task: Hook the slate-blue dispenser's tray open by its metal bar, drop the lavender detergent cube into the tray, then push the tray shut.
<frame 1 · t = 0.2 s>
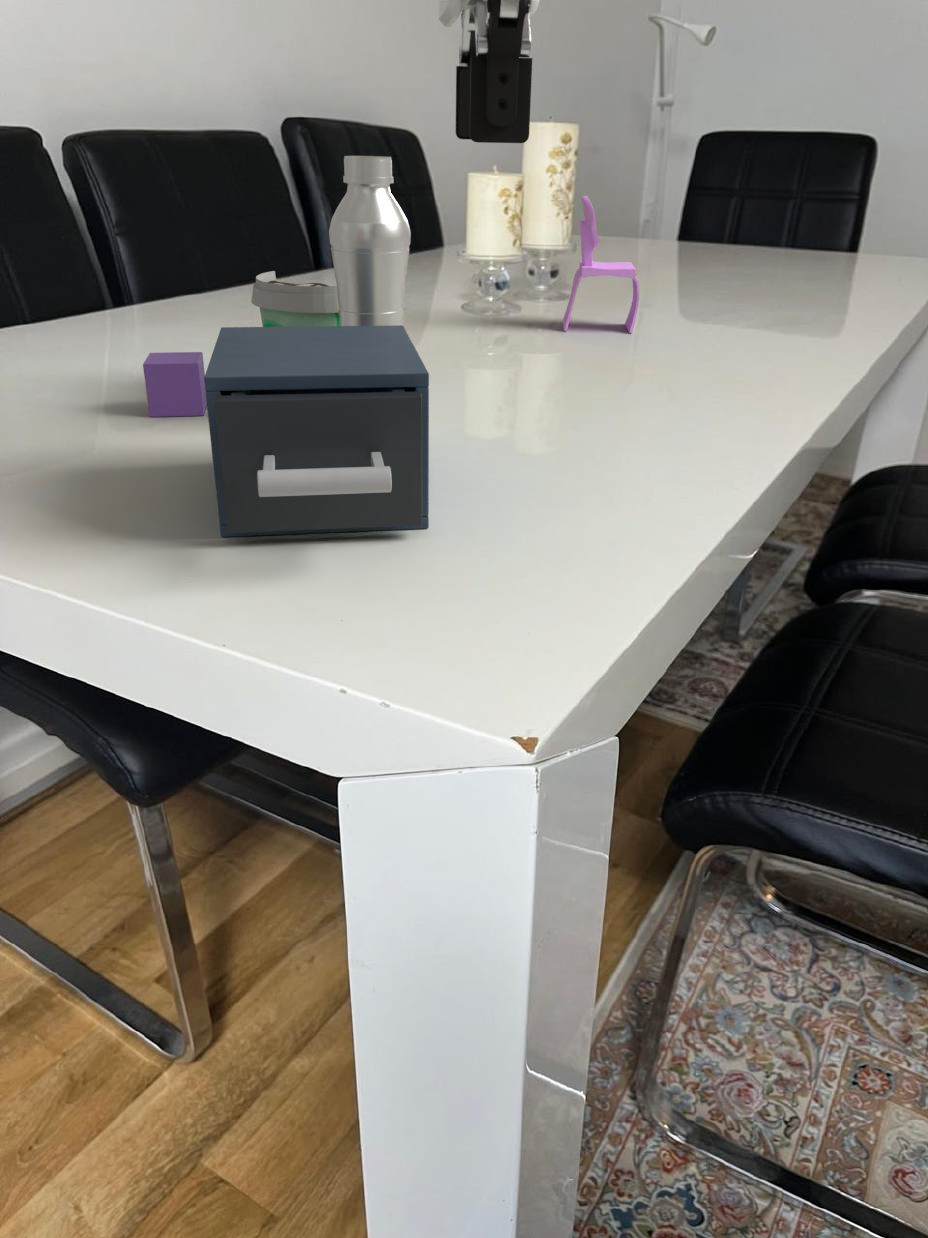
hand: (489, 140, 57), 22 cm above the table, tool pointing down, fingers open, 9 cm apart
toy chair: (598, 329, 120), on the table
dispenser: (323, 492, 65), on the table
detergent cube: (179, 409, 83), on the table
silver tall bottle: (373, 420, 81), on the table
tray: (321, 443, 59), point 5 cm above the table, slide at 0.5 cm
food container: (302, 397, 88), on the table
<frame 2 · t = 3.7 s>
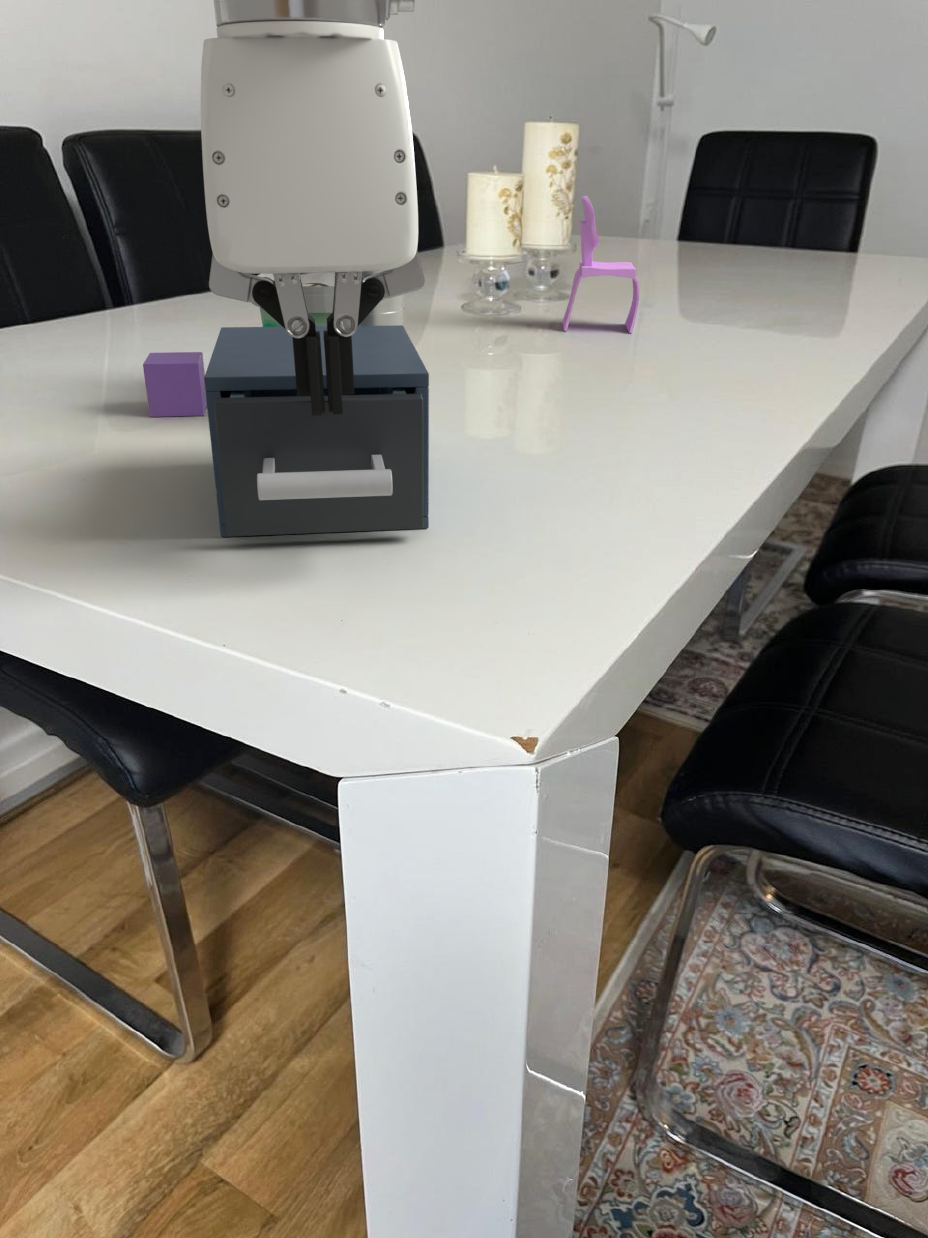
hand: (327, 407, 52), 9 cm above the table, tool pointing down, fingers closed
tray: (321, 445, 58), point 5 cm above the table, slide at 1.0 cm, touching gripper
everything else where it was.
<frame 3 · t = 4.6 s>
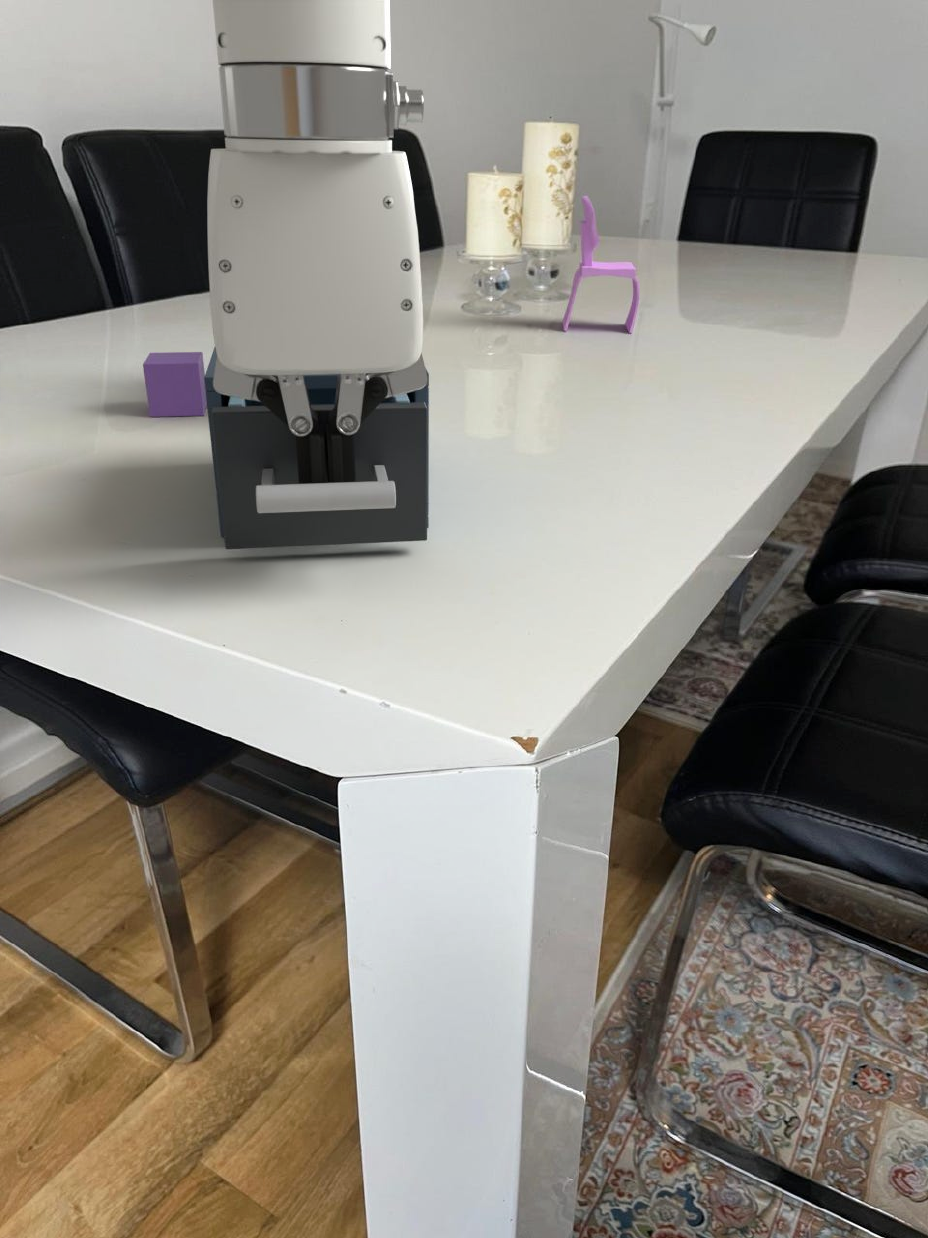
hand: (328, 500, 52), 4 cm above the table, tool pointing down, fingers closed
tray: (322, 455, 57), point 5 cm above the table, slide at 2.9 cm, touching gripper
everything else where it was.
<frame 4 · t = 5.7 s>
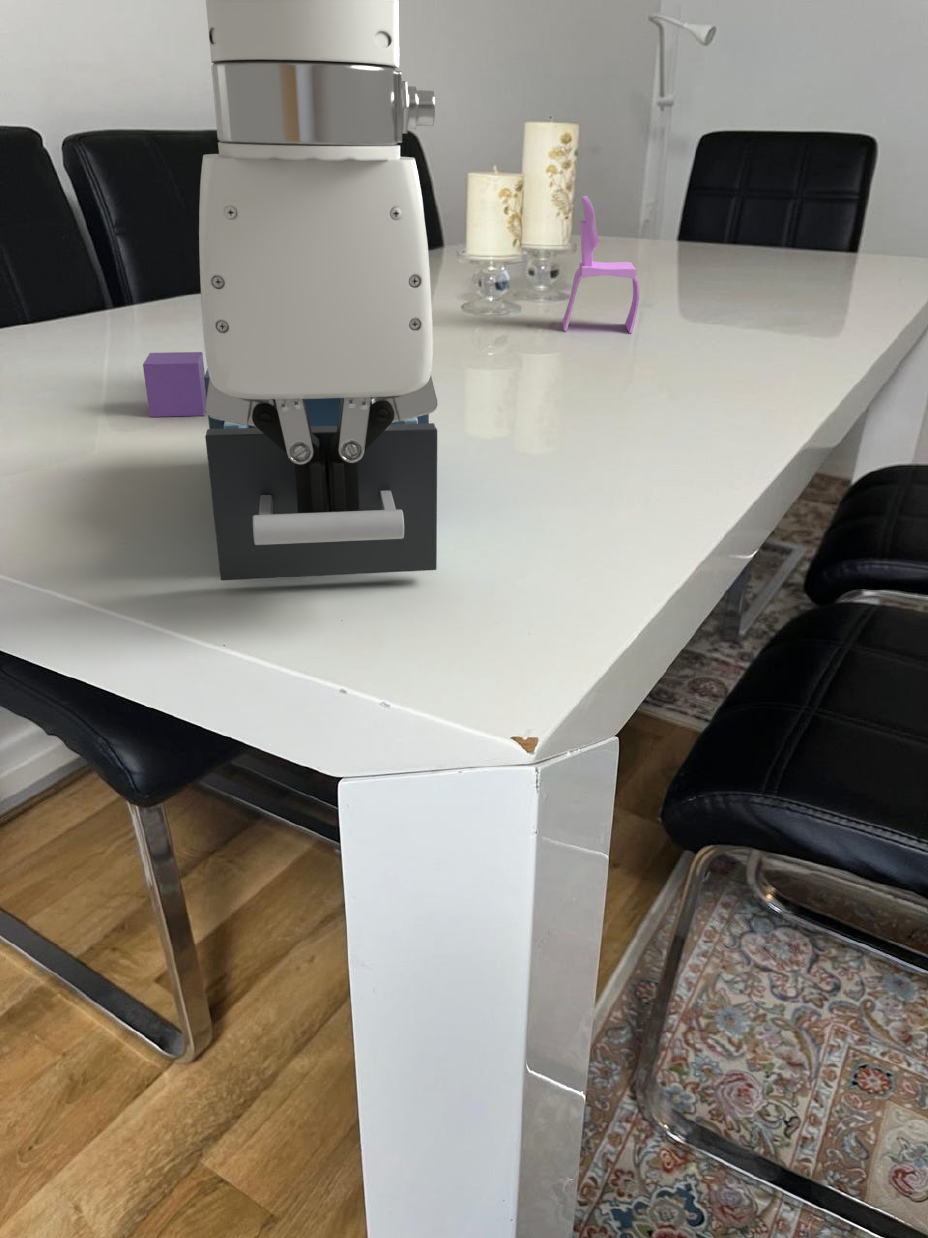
hand: (329, 531, 48), 4 cm above the table, tool pointing down, fingers closed
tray: (324, 478, 53), point 5 cm above the table, slide at 7.0 cm, touching gripper
everything else where it was.
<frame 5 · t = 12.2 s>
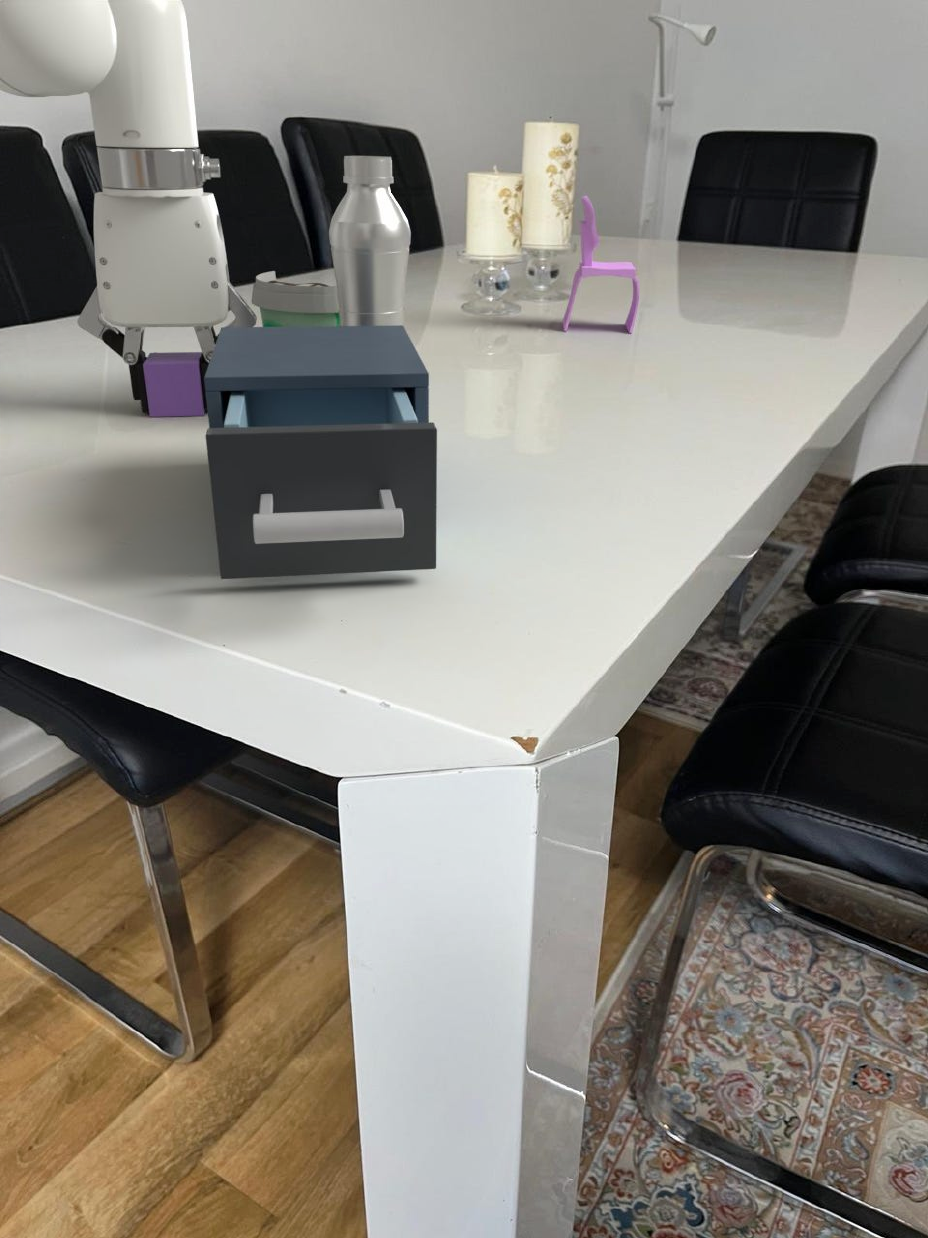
hand: (179, 405, 83), 0 cm above the table, tool pointing down, fingers closed on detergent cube, 4 cm apart
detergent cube: (179, 409, 83), on the table, touching gripper
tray: (324, 477, 53), point 5 cm above the table, slide at 6.9 cm
everything else where it was.
when the fingers open (9 cm above the table, at t = 18.4 s): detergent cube drops 7 cm, resting on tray.
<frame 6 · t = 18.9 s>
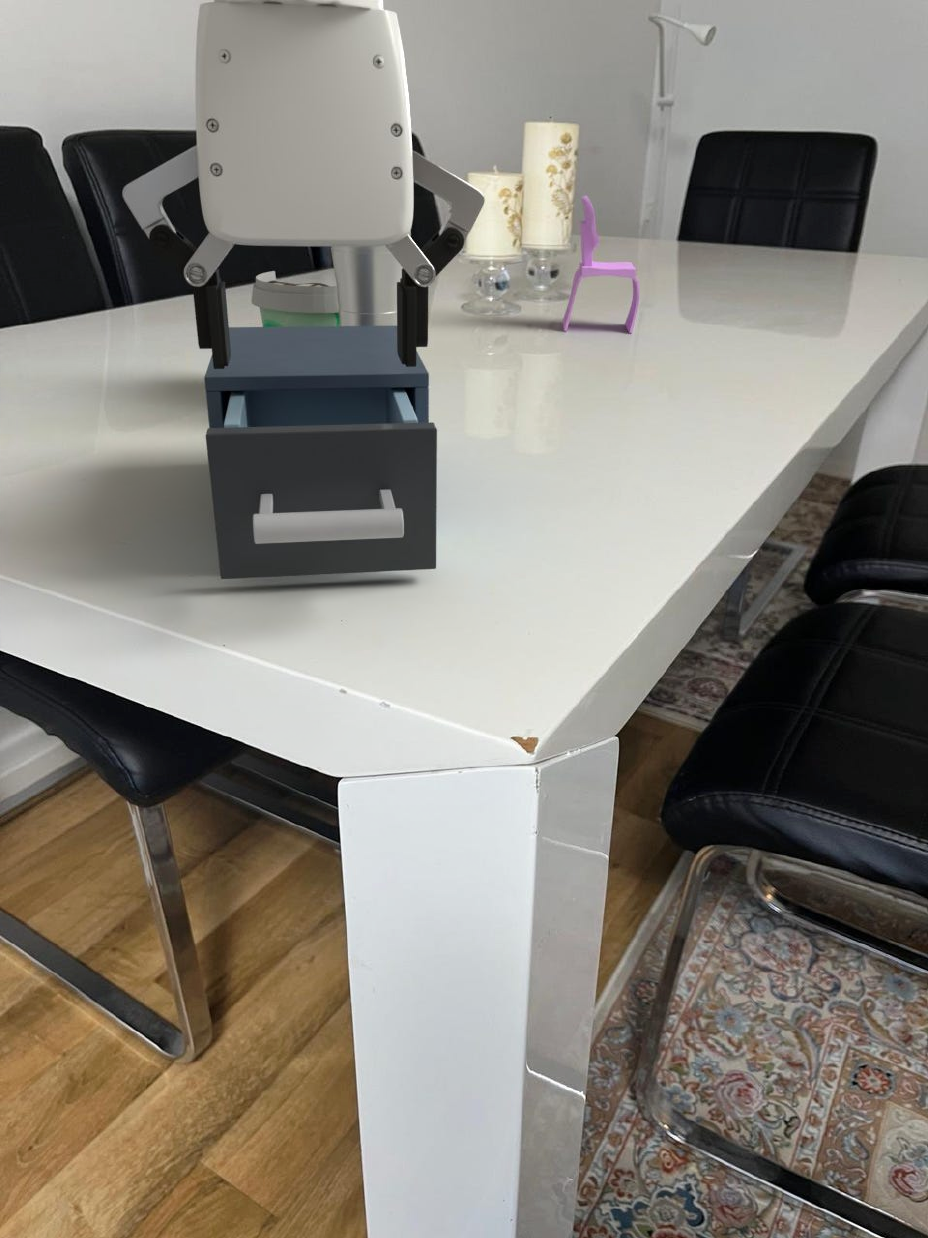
hand: (315, 361, 51), 11 cm above the table, tool pointing down, fingers open, 9 cm apart
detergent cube: (326, 523, 55), point 2 cm above the table, touching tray
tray: (324, 477, 53), point 5 cm above the table, slide at 6.9 cm, touching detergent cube
everything else where it was.
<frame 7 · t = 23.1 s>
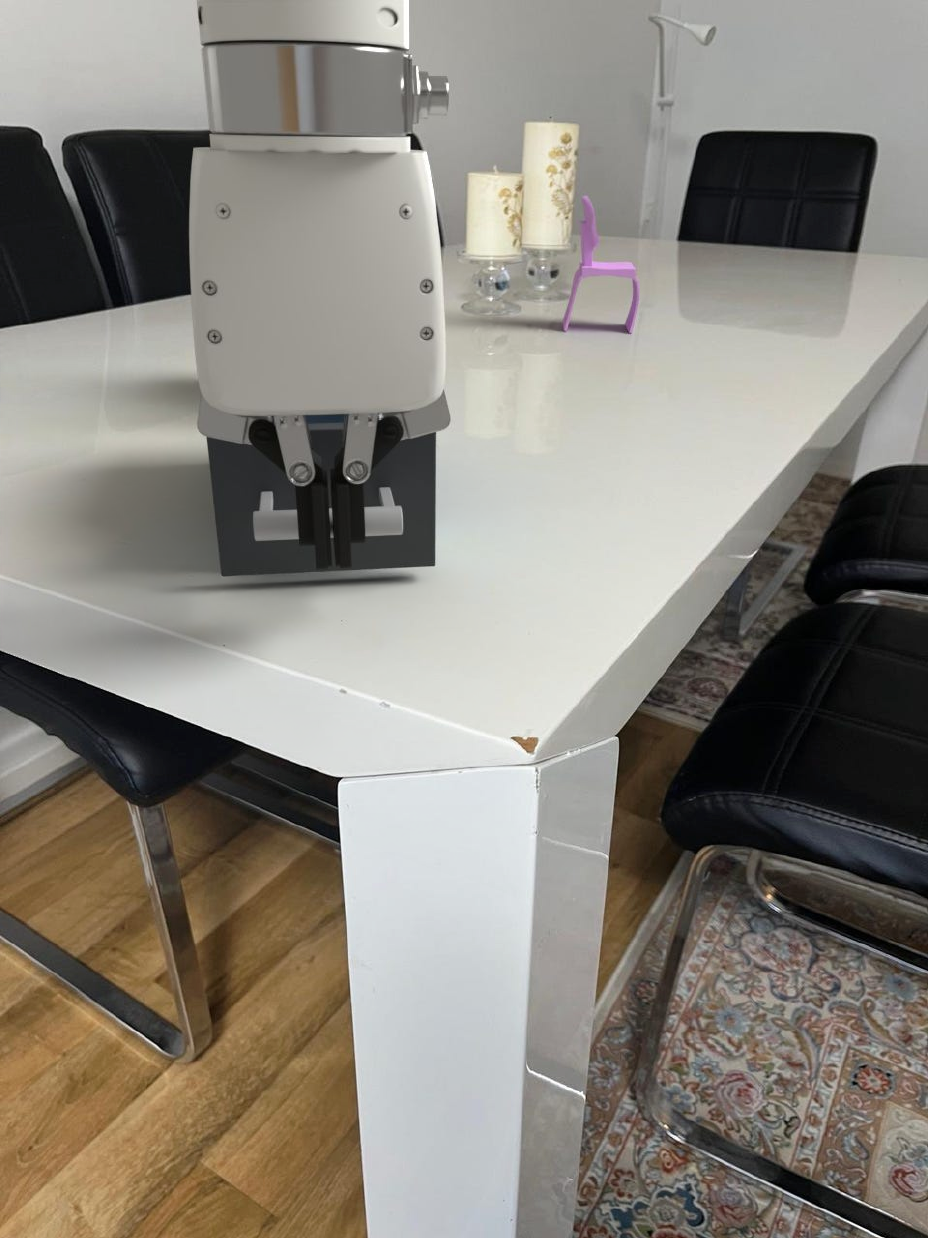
hand: (333, 556, 44), 5 cm above the table, tool pointing down, fingers closed
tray: (324, 475, 54), point 5 cm above the table, slide at 6.5 cm, touching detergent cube
everything else where it was.
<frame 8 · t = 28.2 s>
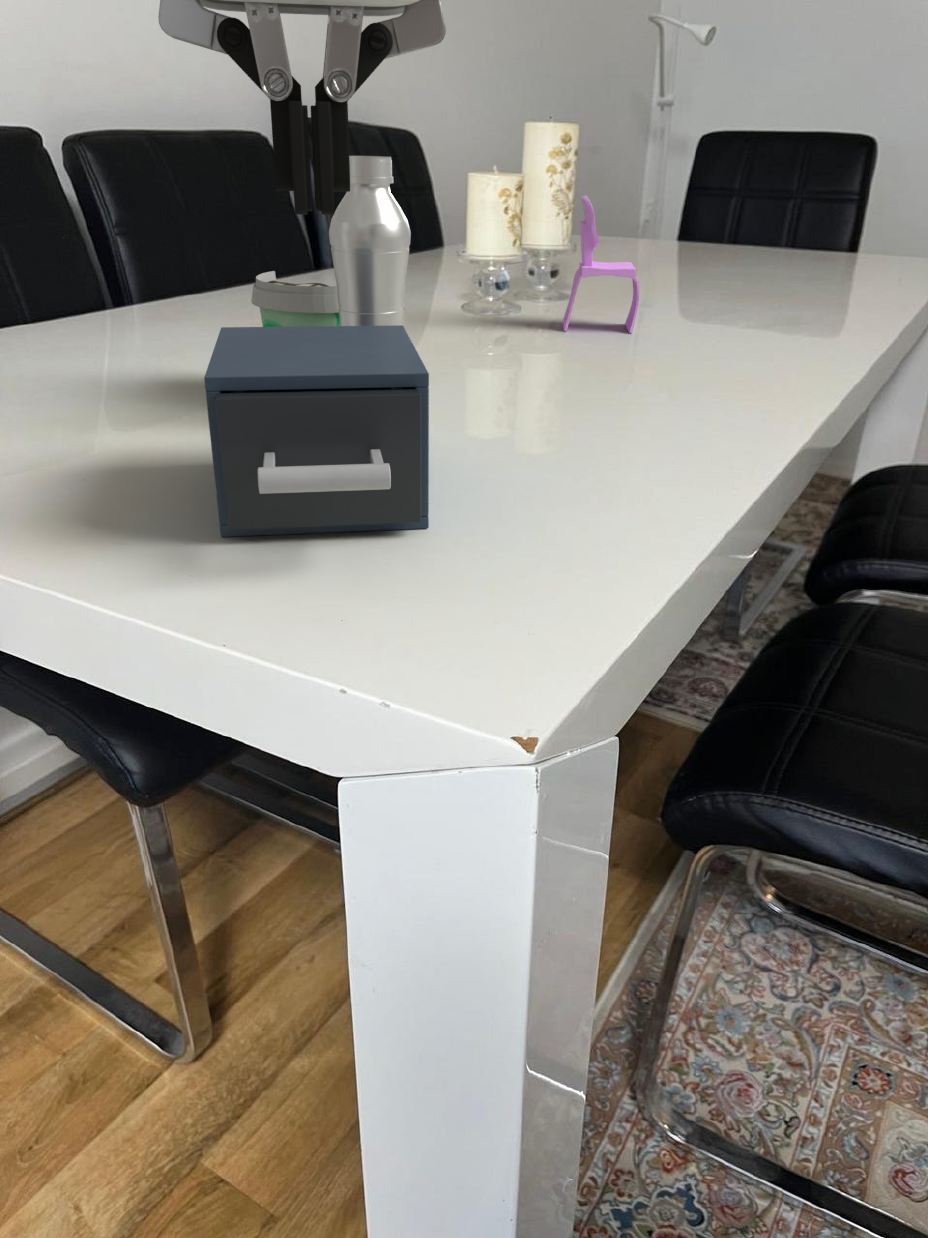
hand: (314, 210, 40), 19 cm above the table, tool pointing down, fingers closed
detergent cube: (322, 482, 61), point 2 cm above the table, touching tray
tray: (321, 441, 59), point 5 cm above the table, slide at 0.0 cm, touching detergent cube, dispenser
everything else where it was.
at the end: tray pulled out 7.0 cm at the most during the clip, back to where it started at the end; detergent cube inside the target area in the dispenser (3.9 cm from its centre), point 2.0 cm above the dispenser's base; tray slide at 0.0 cm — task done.
